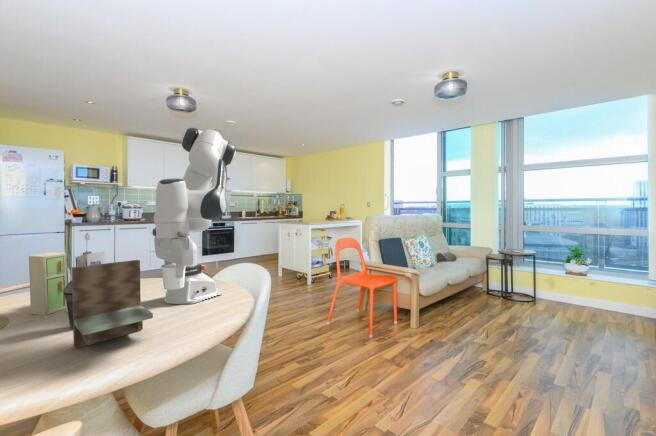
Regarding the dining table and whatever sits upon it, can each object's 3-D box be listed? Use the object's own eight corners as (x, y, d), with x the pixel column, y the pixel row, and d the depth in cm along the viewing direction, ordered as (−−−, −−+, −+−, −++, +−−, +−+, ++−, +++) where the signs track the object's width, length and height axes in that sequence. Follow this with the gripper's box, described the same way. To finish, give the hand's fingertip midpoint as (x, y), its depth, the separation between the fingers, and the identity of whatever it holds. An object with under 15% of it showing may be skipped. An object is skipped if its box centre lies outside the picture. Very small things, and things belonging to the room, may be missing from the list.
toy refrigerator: (46, 315, 107) (44, 256, 106) (29, 314, 108) (28, 255, 108) (69, 308, 115) (68, 253, 114) (54, 306, 116) (52, 252, 116)
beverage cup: (75, 322, 101) (74, 262, 100) (99, 322, 102) (97, 262, 101) (58, 331, 94) (56, 267, 93) (83, 331, 94) (81, 267, 94)
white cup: (170, 291, 90) (169, 268, 89) (156, 288, 93) (156, 265, 93) (191, 286, 96) (190, 264, 95) (177, 282, 99) (177, 261, 99)
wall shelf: (138, 329, 96) (137, 259, 95) (153, 340, 88) (151, 264, 87) (73, 346, 84) (71, 267, 83) (83, 361, 76) (81, 273, 75)
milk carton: (87, 303, 120) (86, 253, 120) (75, 301, 122) (74, 252, 122) (105, 298, 127) (104, 250, 126) (94, 297, 129) (93, 250, 128)
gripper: (199, 233, 89) (200, 279, 90) (170, 228, 103) (171, 268, 103) (176, 234, 84) (178, 284, 85) (150, 229, 98) (151, 272, 99)
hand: (174, 275), depth 94 cm, fingers closed on white cup, 5 cm apart
